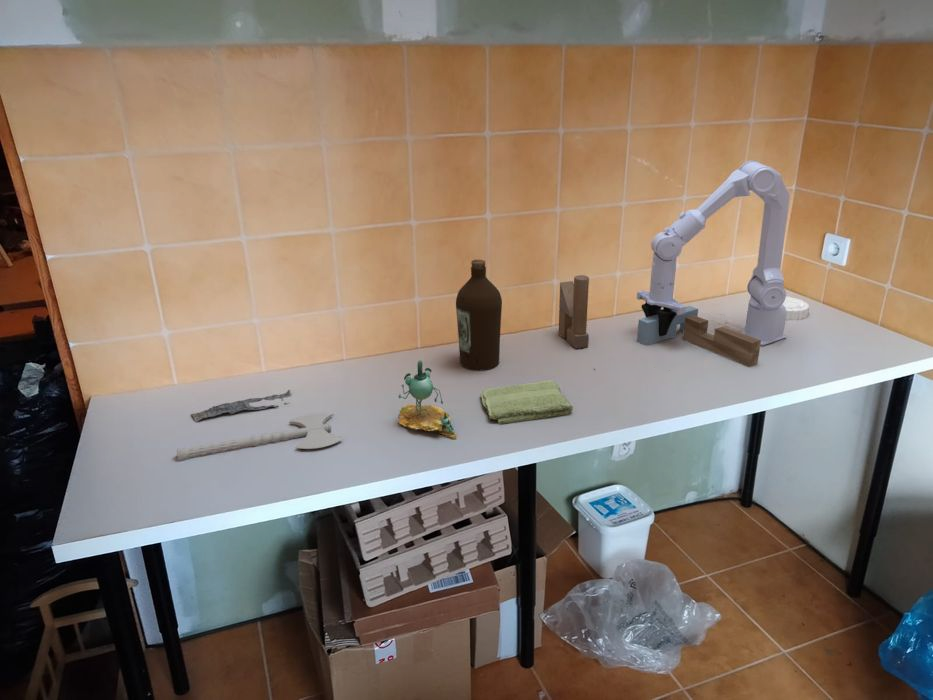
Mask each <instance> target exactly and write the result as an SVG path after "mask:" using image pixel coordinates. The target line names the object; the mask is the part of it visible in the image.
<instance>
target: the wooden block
mask: <svg viewBox="0 0 933 700" xmlns="http://www.w3.org/2000/svg"><path fill="white" fill-rule="evenodd" d="M589 284H590V277H589V276H587V275H582V274H580V275H575V276H574V277H573V281H561V282H560V283H559V304H558V305H559V307H558V308H559V310H558V335H559V336H560V337H561V338H562V339H566V342H567V343H568V344H569V345H571V347H573V348H574V350H575V349H576V350H577V349H583V348H588V347H589V338H590V337H589V336H590V335H589V333H587V321H588V307H589V306H588V305H589V304H588V303H589Z"/></svg>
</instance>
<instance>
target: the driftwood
mask: <svg viewBox="0 0 933 700" xmlns="http://www.w3.org/2000/svg"><path fill="white" fill-rule="evenodd" d="M289 397H292V394H291V390H290V389H288V390H287V392H284V393H280V394H272V395H269V396H268V395H267V396H265V397H255V398H254V397H252V398H247V399H244V400H236V401H233V402H226V403H220V404H218V405H213V406H211V407H209V409H205V410H203V411H201V412H200V411H199V412H196V413H195V412H194V413H191V416H192V418H193V420H194V421H195V422H196V423H198V422H200V421H201V420H203V419H206V418H213V417H217V416H218V415H222V414H223V413H224V414H225V413H229V415H233V414H235V413H237V412H240V411H243V410H248V411H250V410H251V411H253V410H254V411H255V410H256V411H257V410H265V409H268V408H269V407H273V408H275V409H279V407H280V406H279V405H274V404H273V405H271V404H270V405H267V406H266V405H262V406H253V405H251V403H252V404H253V403H257V402H260V401H263V400H264V401H274V400H277V399H279V400H280V399H281V402H284V399H285V398H287V399H289ZM289 404H291V403H290V402H288V403H287V402H284V403H283V405H289Z"/></svg>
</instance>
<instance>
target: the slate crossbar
mask: <svg viewBox="0 0 933 700" xmlns="http://www.w3.org/2000/svg"><path fill="white" fill-rule="evenodd" d="M685 306H686V309H685V314H681V315H678V314H677V315H676V316H675V318H674V319H673V321H672V322H671V325H670V327H669V329H668V332H667V335H664V336H659V319H658V314H657V315H653V316H650V317H646V316H645V317H643V318H640V319H639V318H638V326H637V338H636V342H637V343H639V344H641V345H644V346H649V345H652V344H655V343H659V342H661V341H664V340H668V339H672V338H675V337H677V329H678V325H679V330H681V331H683V332H684V325H685V317H689V316H692V315H695V316H698V314H699V308H697V307H694V306H691V305H685ZM698 317H699V316H698Z"/></svg>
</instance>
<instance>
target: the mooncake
mask: <svg viewBox="0 0 933 700" xmlns="http://www.w3.org/2000/svg"><path fill="white" fill-rule="evenodd" d="M783 305H784V307H785V309H786V313H787V314H786V321H788V320H790V321H793V320H796V321H802V320H805V319H806V318H807V317H808V315H809V311H810V305H809V303H807V302H806V301H804V300H802V299H801V298H795V297H792V296H787V295H786V298H785V301H784V302H783ZM804 318H805V319H804ZM801 319H802V320H801Z"/></svg>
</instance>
